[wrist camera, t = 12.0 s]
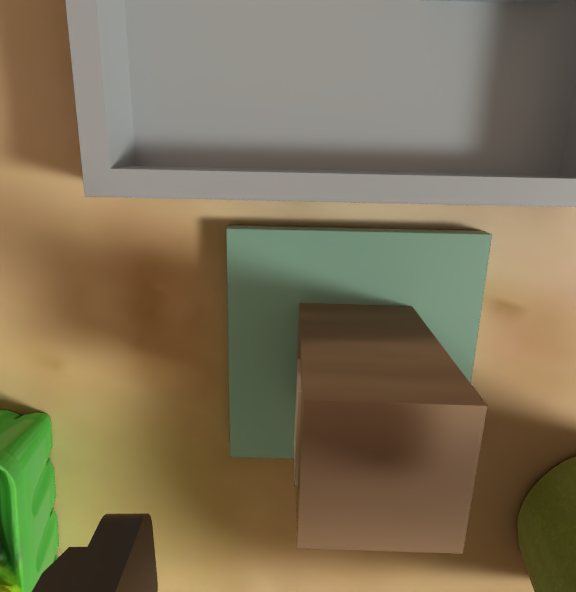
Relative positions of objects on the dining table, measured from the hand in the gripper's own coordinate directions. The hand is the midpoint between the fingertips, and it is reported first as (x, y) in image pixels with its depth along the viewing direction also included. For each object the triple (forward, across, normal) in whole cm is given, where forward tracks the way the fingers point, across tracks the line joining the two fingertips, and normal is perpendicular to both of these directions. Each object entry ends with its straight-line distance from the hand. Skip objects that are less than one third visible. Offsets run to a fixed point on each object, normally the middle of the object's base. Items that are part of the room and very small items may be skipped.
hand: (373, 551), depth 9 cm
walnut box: (+10, -1, 0) cm, 10 cm away
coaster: (+10, -1, 0) cm, 10 cm away
